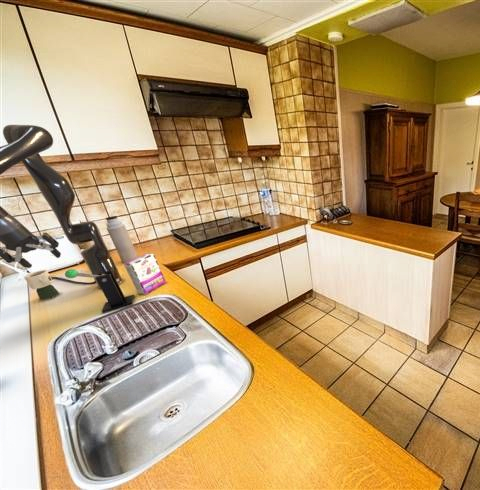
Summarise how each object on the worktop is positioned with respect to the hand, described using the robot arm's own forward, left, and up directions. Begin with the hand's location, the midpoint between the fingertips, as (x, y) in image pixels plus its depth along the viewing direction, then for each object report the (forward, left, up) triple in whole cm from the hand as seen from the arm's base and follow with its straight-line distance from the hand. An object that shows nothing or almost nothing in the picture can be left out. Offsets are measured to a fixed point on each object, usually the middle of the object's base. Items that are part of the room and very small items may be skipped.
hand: (44, 261), depth 104 cm
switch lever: (+8, +6, -10) cm, 14 cm away
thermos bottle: (-42, +39, -25) cm, 62 cm away
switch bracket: (+10, +11, -25) cm, 29 cm away
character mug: (-32, +1, -25) cm, 41 cm away
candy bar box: (+9, +25, -25) cm, 37 cm away
